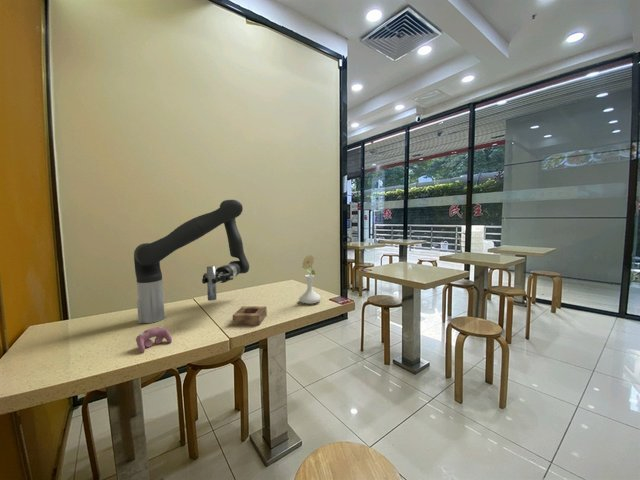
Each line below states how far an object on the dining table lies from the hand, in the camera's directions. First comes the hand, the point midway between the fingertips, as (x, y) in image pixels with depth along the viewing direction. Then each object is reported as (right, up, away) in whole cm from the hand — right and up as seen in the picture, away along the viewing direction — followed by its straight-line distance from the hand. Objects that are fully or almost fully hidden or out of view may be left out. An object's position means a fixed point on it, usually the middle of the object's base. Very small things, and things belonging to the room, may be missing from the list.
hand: (208, 281), depth 107 cm
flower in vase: (+41, -15, +26) cm, 51 cm away
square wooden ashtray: (+16, -17, +4) cm, 24 cm away
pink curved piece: (-11, -20, -17) cm, 29 cm away
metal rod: (0, -8, +3) cm, 9 cm away
